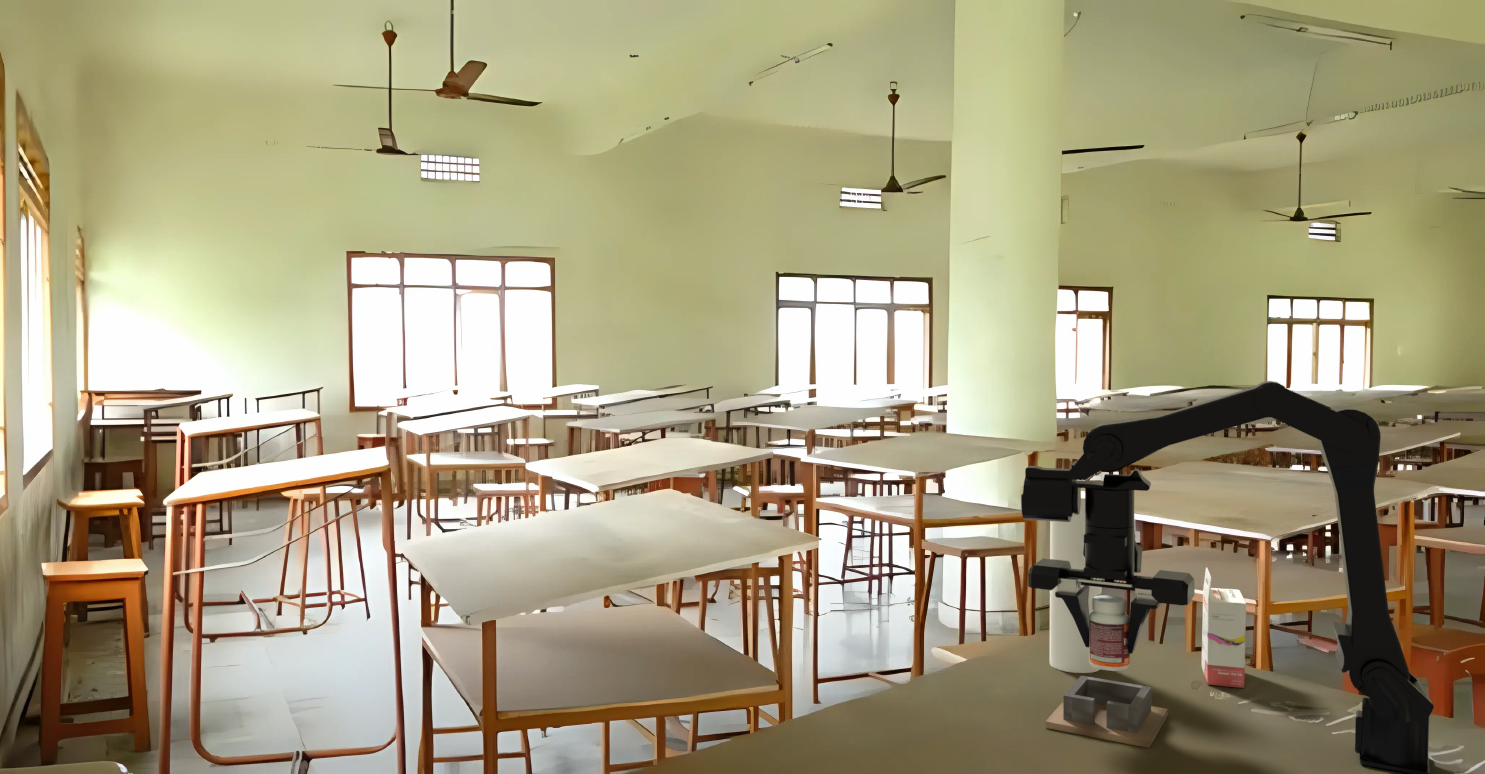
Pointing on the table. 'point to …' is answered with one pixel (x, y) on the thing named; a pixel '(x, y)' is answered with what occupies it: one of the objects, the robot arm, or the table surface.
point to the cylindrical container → (1063, 629)
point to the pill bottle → (1109, 633)
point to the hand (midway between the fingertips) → (1109, 649)
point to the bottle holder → (1109, 712)
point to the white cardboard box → (1223, 635)
